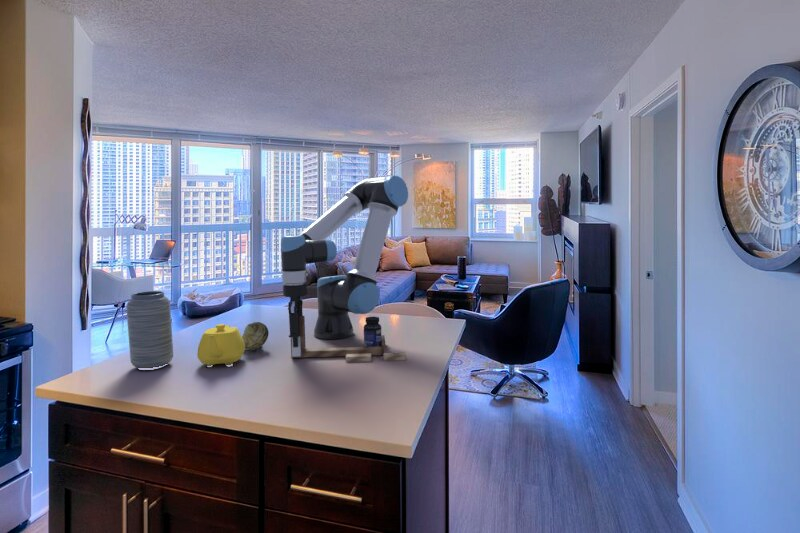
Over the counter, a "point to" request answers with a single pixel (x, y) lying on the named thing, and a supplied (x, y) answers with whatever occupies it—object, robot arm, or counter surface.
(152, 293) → the vase
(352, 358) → the broken strip
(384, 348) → the wooden stand
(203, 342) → the yellow faceted lidded jar
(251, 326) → the seashell
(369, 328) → the pill bottle
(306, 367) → the counter surface
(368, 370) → the counter surface
